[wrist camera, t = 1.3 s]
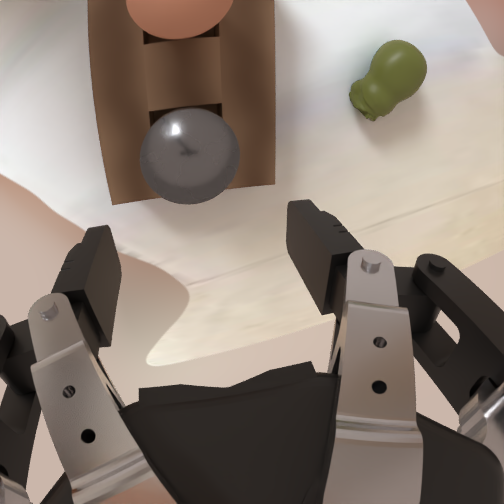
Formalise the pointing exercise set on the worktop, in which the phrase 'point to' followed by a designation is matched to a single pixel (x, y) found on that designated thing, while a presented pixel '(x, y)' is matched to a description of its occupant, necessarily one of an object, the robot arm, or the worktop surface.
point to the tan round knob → (177, 16)
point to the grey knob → (189, 156)
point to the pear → (389, 79)
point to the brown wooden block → (182, 88)
